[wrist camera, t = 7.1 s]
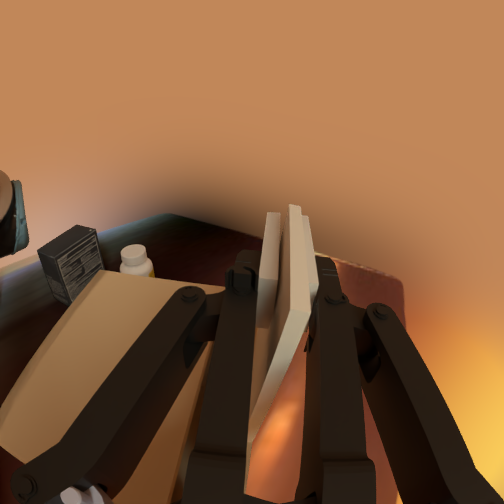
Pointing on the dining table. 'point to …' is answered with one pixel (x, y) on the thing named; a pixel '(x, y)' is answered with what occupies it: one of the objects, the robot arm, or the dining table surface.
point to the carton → (93, 375)
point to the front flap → (280, 325)
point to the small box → (71, 262)
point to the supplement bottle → (136, 261)
